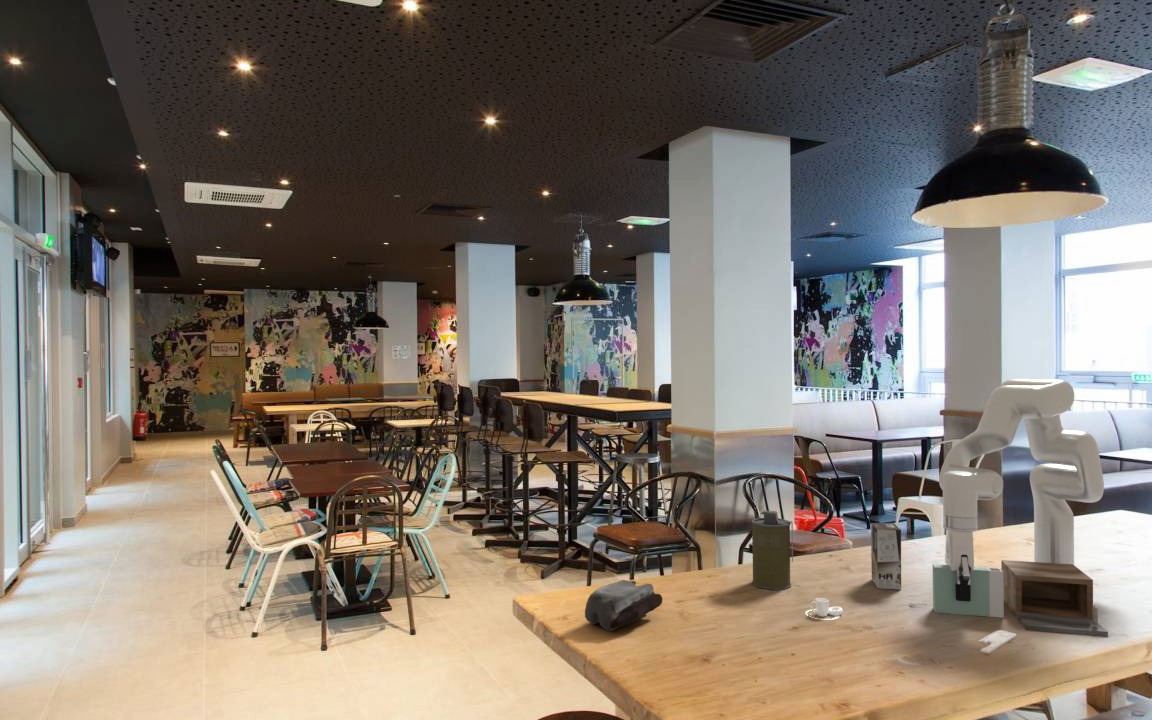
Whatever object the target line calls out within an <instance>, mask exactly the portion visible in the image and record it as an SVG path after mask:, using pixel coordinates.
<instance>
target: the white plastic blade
mask: <svg viewBox="0 0 1152 720" xmlns="http://www.w3.org/2000/svg"><path fill="white" fill-rule="evenodd" d="M1016 637H1017V633H1015V632H1010V631H1006V630H1001V629H998V630H994V631H993V632H991V633H989V634H988V635H986V636H985V637H982V638H981V639H979V640H978V641H977V642H979V643H984V644H986V645H987V644H989V645H988V646H986V647H983V648H981V649H980V652H981V653H985V654H990V653H992V652H993V651H995V650H996V649H999V648H1000V647H1001V646H1003V645H1005V644H1006V643H1009V641H1011V640H1012V639H1014V638H1016Z"/></svg>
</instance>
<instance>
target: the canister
mask: <svg viewBox="0 0 1152 720" xmlns="http://www.w3.org/2000/svg"><path fill="white" fill-rule="evenodd" d="M760 515H763V517H759V518H757V517H756V518H753V519H752V520H751V525H752V526H751V527H752V535H751V536H752V581H751V582H752V583H751V584H752V585H753V586H754V585H755V586H754V587H756V586H757V588H758V587H761V588H760V589H762V588H764V590H768V589H771V590H770V591H782V590H781V589H783V590H786V589H788V588H790V587H792V583H791V563H793V562H794V561H793V560H794V547H793V546H794V541H793V540H794V539H793V538H794V537H793V536H794V535H793V534H794V533H793V532H794V531H793V529H794V528H793V521H792V520H787V519H784V518H779V516H778V515H779V514H778V512H777V511H776V510H763V511H762V512H761V513H760ZM790 526H791V527H790Z"/></svg>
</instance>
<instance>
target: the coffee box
mask: <svg viewBox="0 0 1152 720" xmlns="http://www.w3.org/2000/svg"><path fill="white" fill-rule="evenodd" d="M870 542H871V543H870V546H871V548H870V549H871V550H870V554H871V555H870V556H871V560H870V561H871V581H872V582H873V583H874V585H875V586H876V588H877V589H880V590H881V589H882V590H883V589H885V590H902V529H901V527H899V526H898V525H896V524H895V523H894V522H871V523H870Z"/></svg>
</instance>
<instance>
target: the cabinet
mask: <svg viewBox="0 0 1152 720" xmlns="http://www.w3.org/2000/svg"><path fill="white" fill-rule="evenodd" d="M1000 562H1001V565H1000V566H1001V568H1000V569H1001V570H1002V571H1003V590H1004V604H1005V605H1006V606H1007V607H1008V609H1009V610H1010V611H1011V613H1012V614H1013V615H1014V616H1015V618H1017V620H1018V621H1019V622H1020V623H1021V625H1022V626H1023V627H1024V629H1025V630H1027V631H1040V632H1049V633H1052V632H1053V633H1060V634H1062V633H1064V634H1075V635H1086V636H1089V635H1090V636H1098V637H1099V636H1100V637H1109V631H1108V630H1107V629H1106V628H1104V627H1103V626H1102V625H1101V623H1099V615H1098V614H1099V613H1098V611H1099V609H1098V607H1097V606H1094V579H1092V577H1090V576H1089V575H1087V574H1086V573H1085V572H1083V571H1082V570H1081V569H1080V568H1078V567H1077V566H1076V565H1075V564H1074V565H1073V564H1059V563H1042V562H1035V561H1022V560H1010V559H1009V560H1007V559H1006V560H1005V559H1004V560H1003V559H1001V561H1000Z"/></svg>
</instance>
